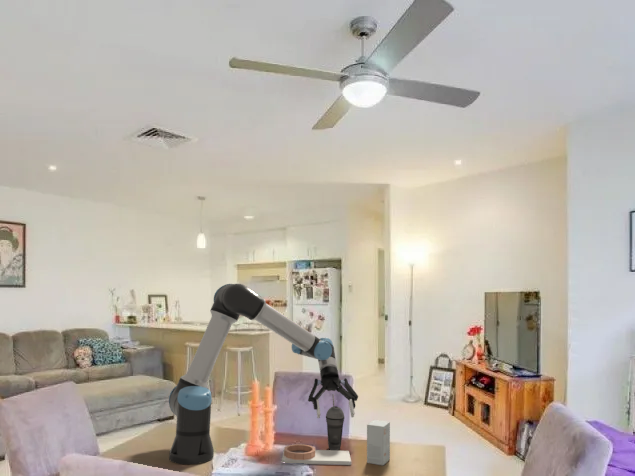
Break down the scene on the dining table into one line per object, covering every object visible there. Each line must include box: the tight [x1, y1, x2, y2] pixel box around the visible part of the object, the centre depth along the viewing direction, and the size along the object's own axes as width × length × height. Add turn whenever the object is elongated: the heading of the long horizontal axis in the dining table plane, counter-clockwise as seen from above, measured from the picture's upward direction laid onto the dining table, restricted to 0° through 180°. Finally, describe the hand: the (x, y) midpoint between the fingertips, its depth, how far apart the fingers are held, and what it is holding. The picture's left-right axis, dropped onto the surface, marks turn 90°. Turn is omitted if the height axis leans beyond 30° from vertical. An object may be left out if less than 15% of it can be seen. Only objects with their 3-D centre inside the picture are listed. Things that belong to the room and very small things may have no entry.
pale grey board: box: [281, 449, 352, 466], centre depth 173 cm, size 24×12×1 cm, turn 90°
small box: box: [366, 419, 391, 466], centre depth 173 cm, size 8×6×13 cm
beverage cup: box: [325, 393, 345, 451], centre depth 186 cm, size 7×7×20 cm
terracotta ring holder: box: [283, 443, 316, 460], centre depth 173 cm, size 11×11×2 cm
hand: (336, 416), depth 189 cm, fingers open, 13 cm apart
